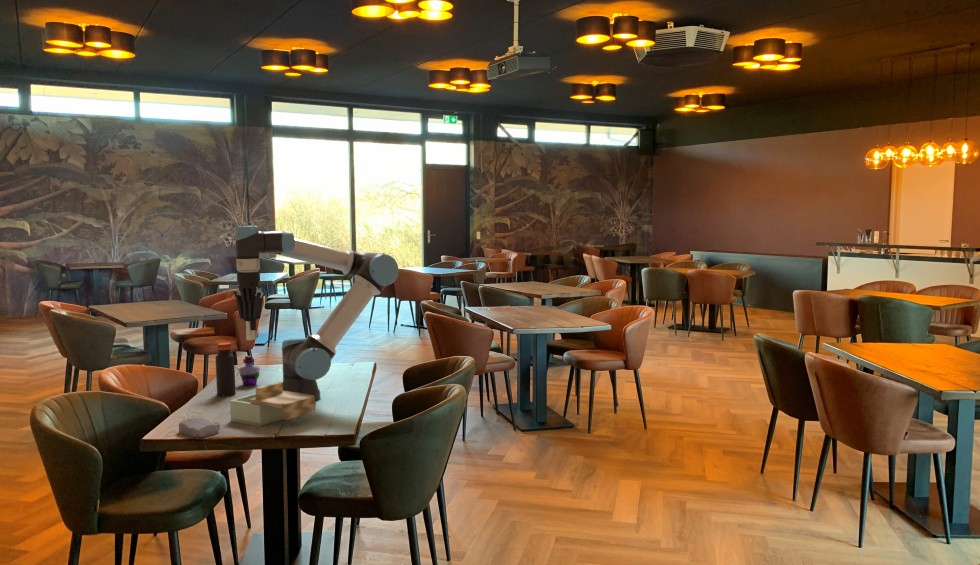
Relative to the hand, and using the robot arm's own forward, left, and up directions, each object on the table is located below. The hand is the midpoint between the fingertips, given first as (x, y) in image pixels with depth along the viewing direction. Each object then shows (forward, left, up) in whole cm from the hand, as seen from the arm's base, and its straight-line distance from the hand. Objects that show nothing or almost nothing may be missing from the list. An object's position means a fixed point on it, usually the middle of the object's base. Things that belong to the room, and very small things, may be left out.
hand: (250, 339), depth 245 cm
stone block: (+22, +1, -27) cm, 35 cm away
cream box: (+2, +6, -26) cm, 27 cm away
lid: (+2, +16, -23) cm, 28 cm away
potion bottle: (-32, -38, -27) cm, 56 cm away
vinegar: (-16, -33, -27) cm, 45 cm away
